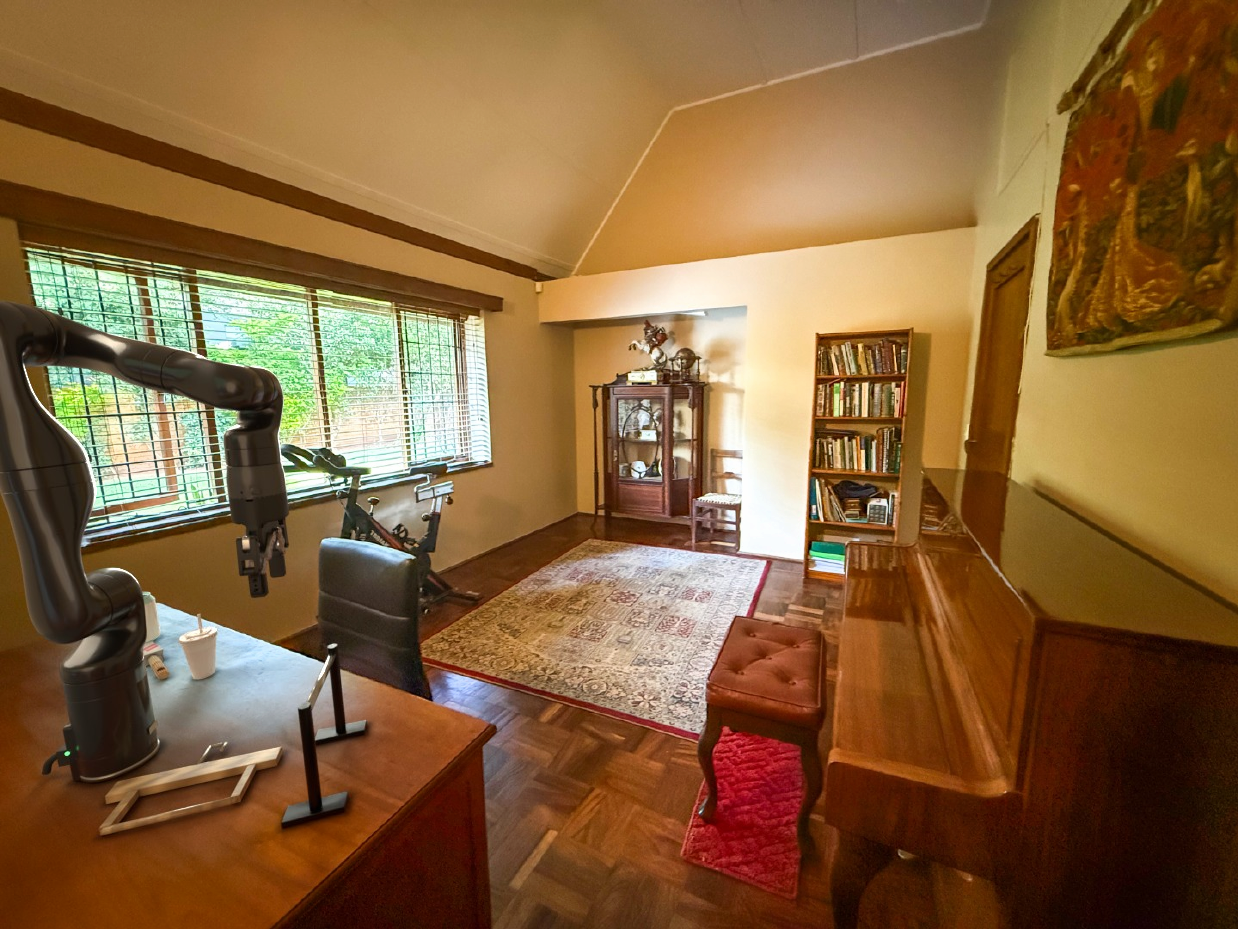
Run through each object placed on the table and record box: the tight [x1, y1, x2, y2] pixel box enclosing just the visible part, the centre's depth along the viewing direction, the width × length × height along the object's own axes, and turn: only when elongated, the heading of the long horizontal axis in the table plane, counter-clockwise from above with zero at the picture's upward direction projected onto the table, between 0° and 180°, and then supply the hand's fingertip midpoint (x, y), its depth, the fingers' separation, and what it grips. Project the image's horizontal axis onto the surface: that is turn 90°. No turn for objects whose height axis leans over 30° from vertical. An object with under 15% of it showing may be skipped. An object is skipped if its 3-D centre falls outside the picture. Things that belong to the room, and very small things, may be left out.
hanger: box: [98, 741, 284, 836], centre depth 75 cm, size 22×1×15 cm
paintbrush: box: [143, 641, 170, 680], centre depth 108 cm, size 4×3×20 cm
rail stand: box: [280, 643, 368, 830], centre depth 76 cm, size 8×20×18 cm, turn 20°
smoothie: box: [178, 613, 219, 680], centre depth 103 cm, size 6×6×14 cm
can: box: [142, 591, 162, 643], centre depth 117 cm, size 7×7×12 cm
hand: (269, 586), depth 78 cm, fingers open, 8 cm apart
